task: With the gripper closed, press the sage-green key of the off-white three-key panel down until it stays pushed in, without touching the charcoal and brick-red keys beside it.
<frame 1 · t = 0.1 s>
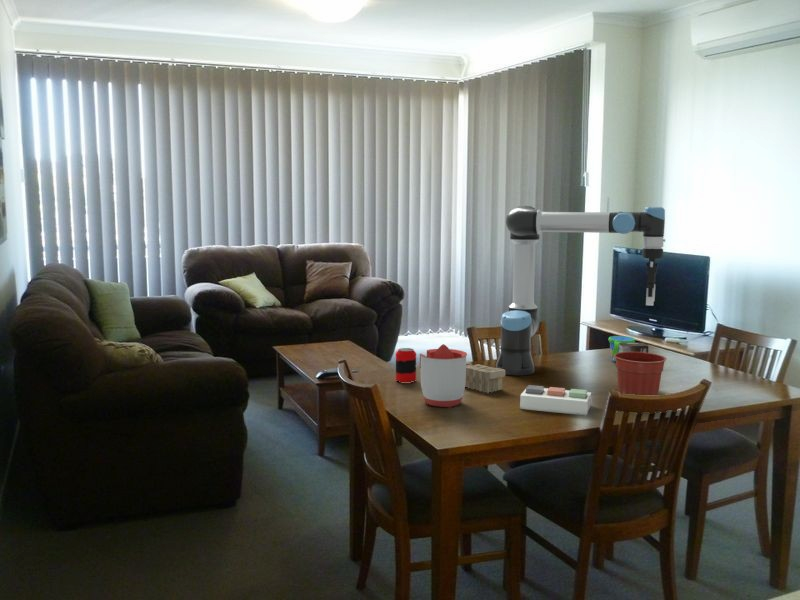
hand: (650, 303, 287), 28 cm above the table, tool pointing down, fingers open, 13 cm apart
soda can: (405, 381, 280), on the table
snack cup: (620, 362, 313), on the table
sage key: (578, 395, 242), point 4 cm above the table, slide at 0.0 cm
block tower: (467, 385, 275), on the table
brick key: (556, 393, 244), point 4 cm above the table, slide at 0.0 cm
citrus juicer: (440, 403, 250), on the table
flower pot: (637, 404, 249), on the table
charcoal key: (534, 391, 247), point 4 cm above the table, slide at 0.0 cm
key panel: (555, 407, 245), on the table
coffee box: (632, 388, 271), on the table
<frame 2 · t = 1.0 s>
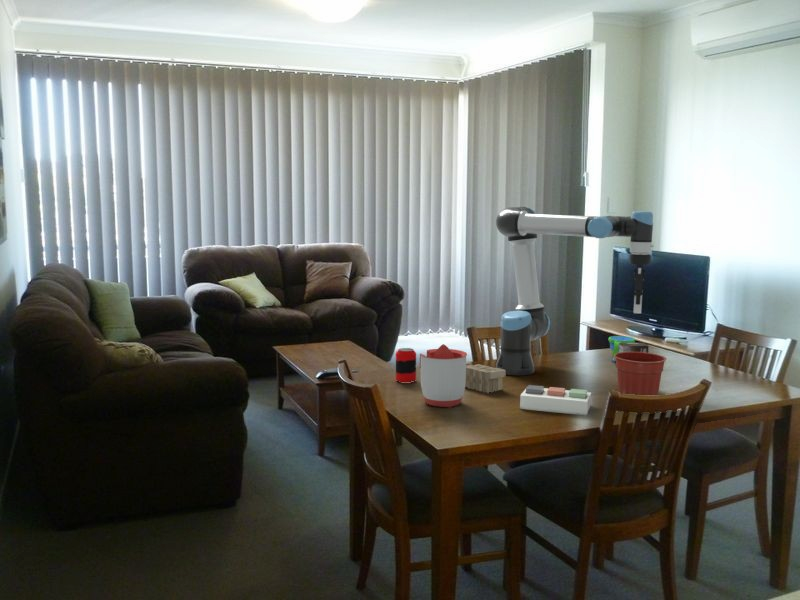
hand: (637, 310, 278), 27 cm above the table, tool pointing down, fingers open, 13 cm apart
nothing on the table moved.
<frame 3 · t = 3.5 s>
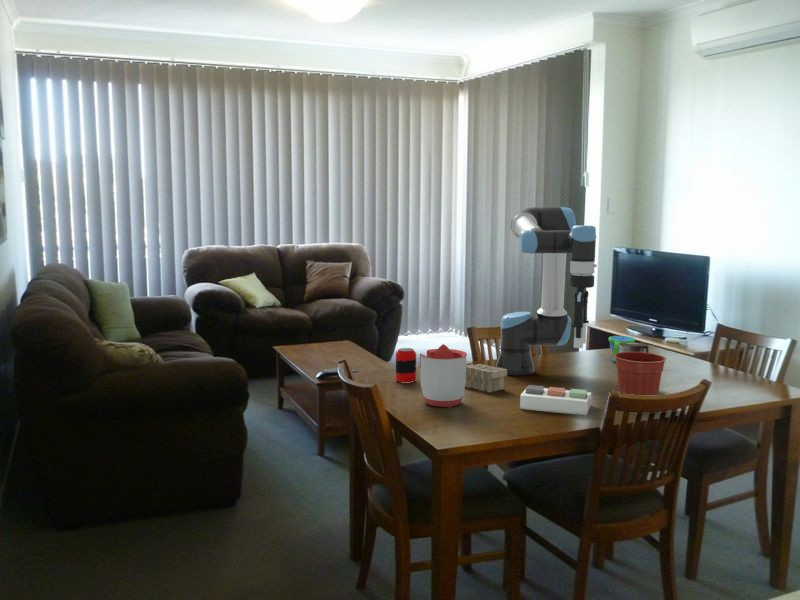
hand: (579, 345, 240), 21 cm above the table, tool pointing down, fingers open, 7 cm apart
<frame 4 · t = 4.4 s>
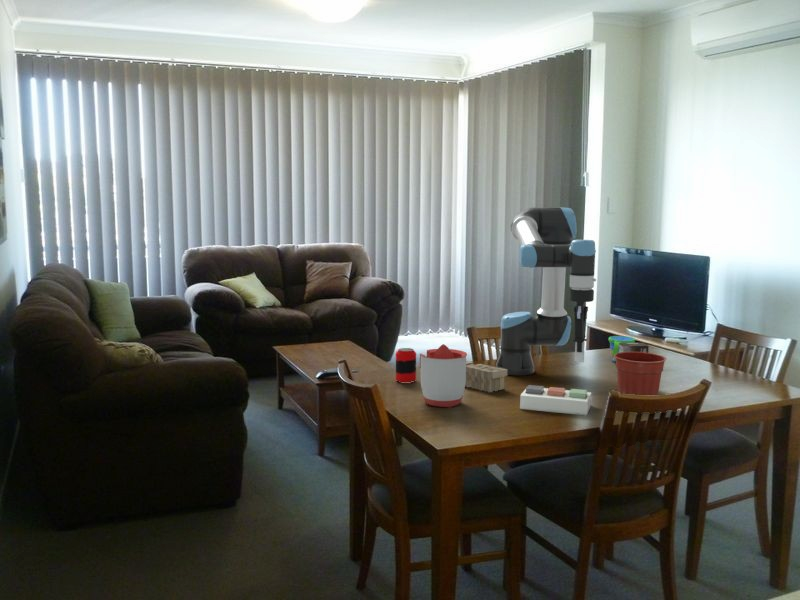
hand: (579, 361, 240), 16 cm above the table, tool pointing down, fingers closed
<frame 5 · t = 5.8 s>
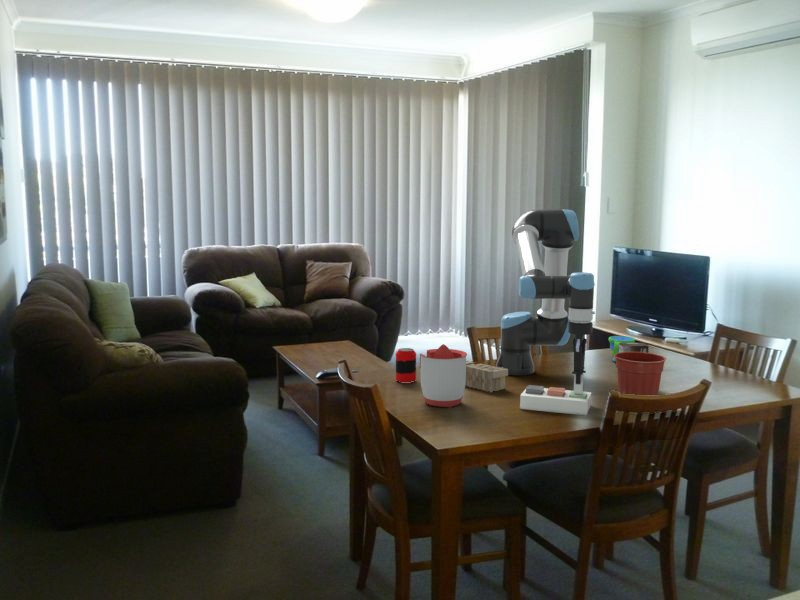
hand: (578, 393, 242), 5 cm above the table, tool pointing down, fingers closed
sage key: (577, 398, 242), point 4 cm above the table, slide at 0.9 cm, touching gripper
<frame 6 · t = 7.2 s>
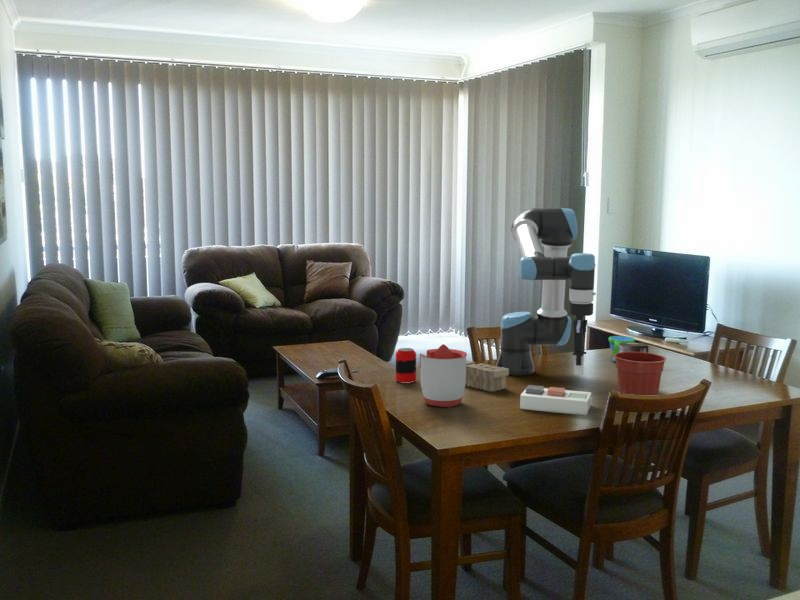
hand: (578, 374, 241), 12 cm above the table, tool pointing down, fingers closed
sage key: (577, 400, 242), point 3 cm above the table, slide at 1.6 cm
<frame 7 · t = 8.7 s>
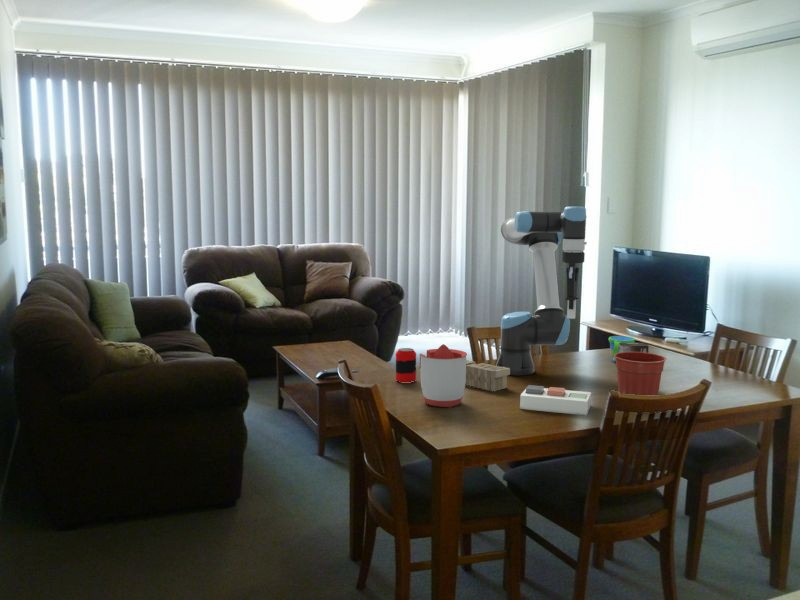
hand: (571, 318, 263), 26 cm above the table, tool pointing down, fingers closed
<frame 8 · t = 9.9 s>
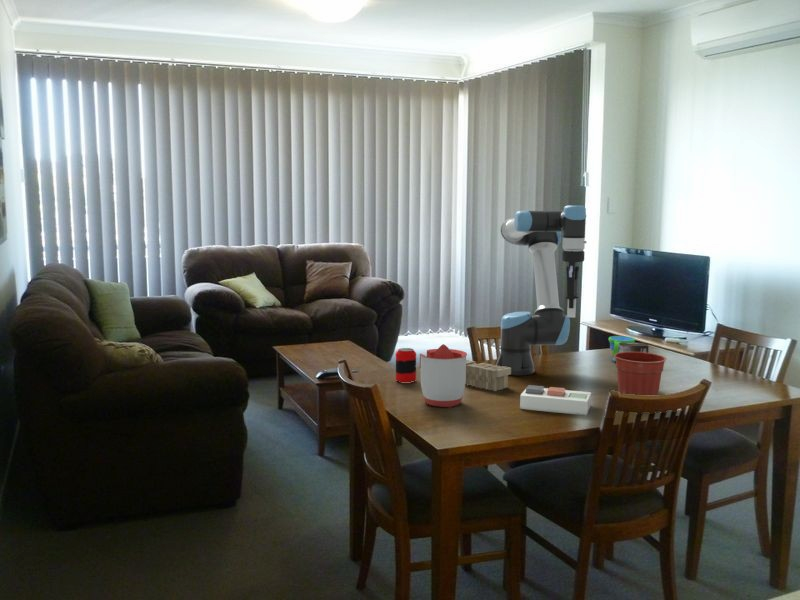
hand: (571, 317, 263), 26 cm above the table, tool pointing down, fingers closed
at the end: sage key slide at 1.6 cm; charcoal key slide at 0.0 cm; brick key slide at 0.0 cm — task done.
